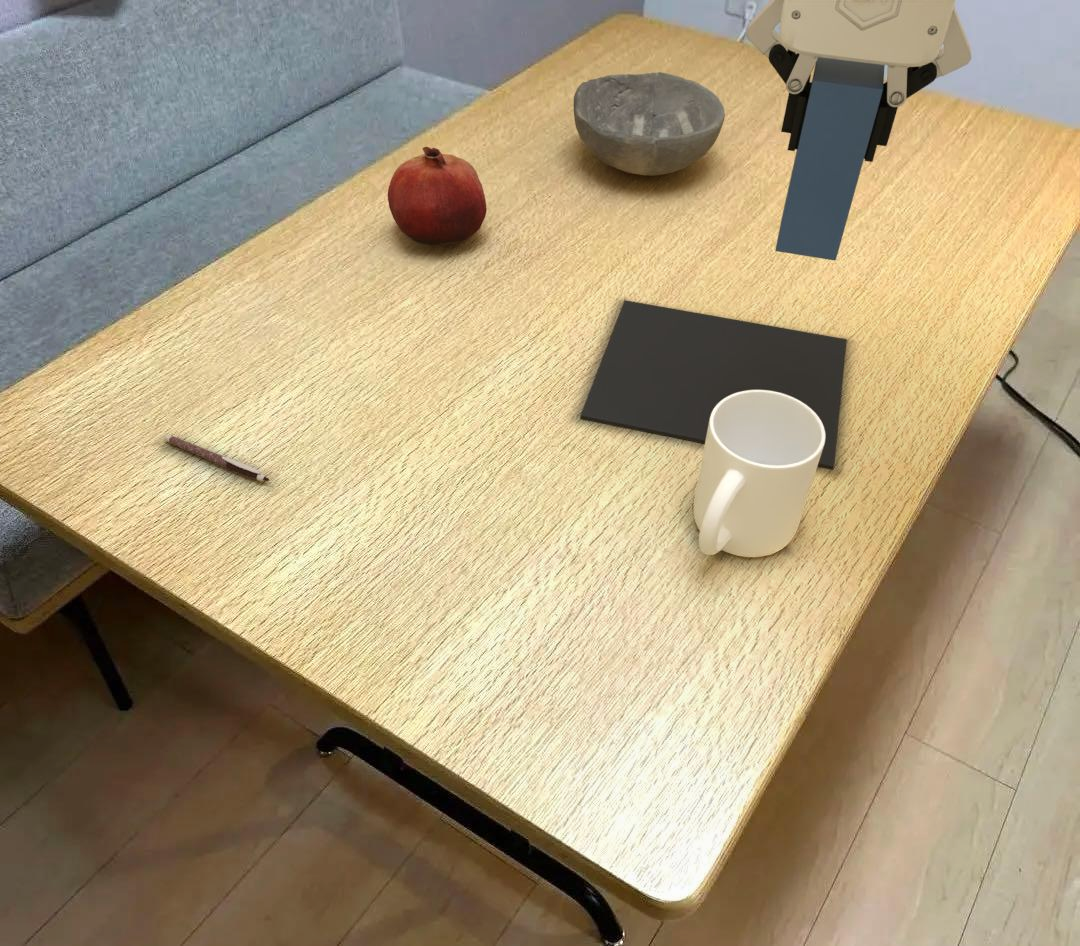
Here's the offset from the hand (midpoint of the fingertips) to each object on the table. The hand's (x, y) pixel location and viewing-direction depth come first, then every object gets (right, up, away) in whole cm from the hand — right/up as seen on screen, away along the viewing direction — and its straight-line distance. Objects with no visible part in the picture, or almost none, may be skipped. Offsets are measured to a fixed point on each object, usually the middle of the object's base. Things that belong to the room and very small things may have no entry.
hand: (831, 144), depth 67 cm
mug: (-6, -28, +7) cm, 30 cm away
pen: (-48, -22, +12) cm, 54 cm away
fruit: (-32, +2, +37) cm, 49 cm away
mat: (-4, -15, +21) cm, 26 cm away
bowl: (-8, +15, +49) cm, 52 cm away
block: (0, -5, +6) cm, 8 cm away
